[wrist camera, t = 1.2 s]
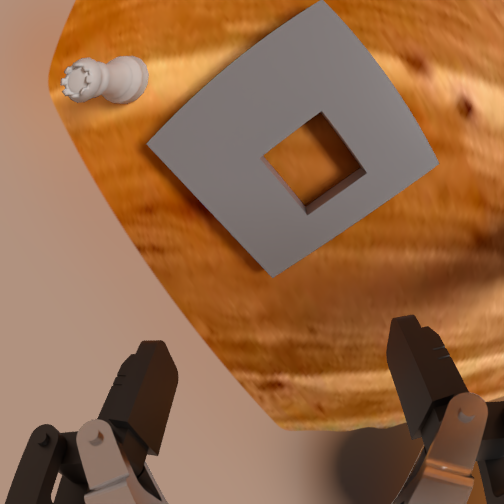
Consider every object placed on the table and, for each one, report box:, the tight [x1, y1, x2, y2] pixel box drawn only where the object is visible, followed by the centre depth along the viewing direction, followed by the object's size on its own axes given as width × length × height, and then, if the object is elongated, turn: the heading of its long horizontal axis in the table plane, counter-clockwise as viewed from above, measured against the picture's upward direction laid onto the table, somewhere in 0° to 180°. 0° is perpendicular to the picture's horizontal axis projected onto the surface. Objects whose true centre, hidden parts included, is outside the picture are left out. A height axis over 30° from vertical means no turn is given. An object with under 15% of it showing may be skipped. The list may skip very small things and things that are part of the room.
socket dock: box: [147, 0, 439, 278], centre depth 22 cm, size 18×16×2 cm
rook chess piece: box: [61, 56, 149, 104], centre depth 18 cm, size 4×4×8 cm
